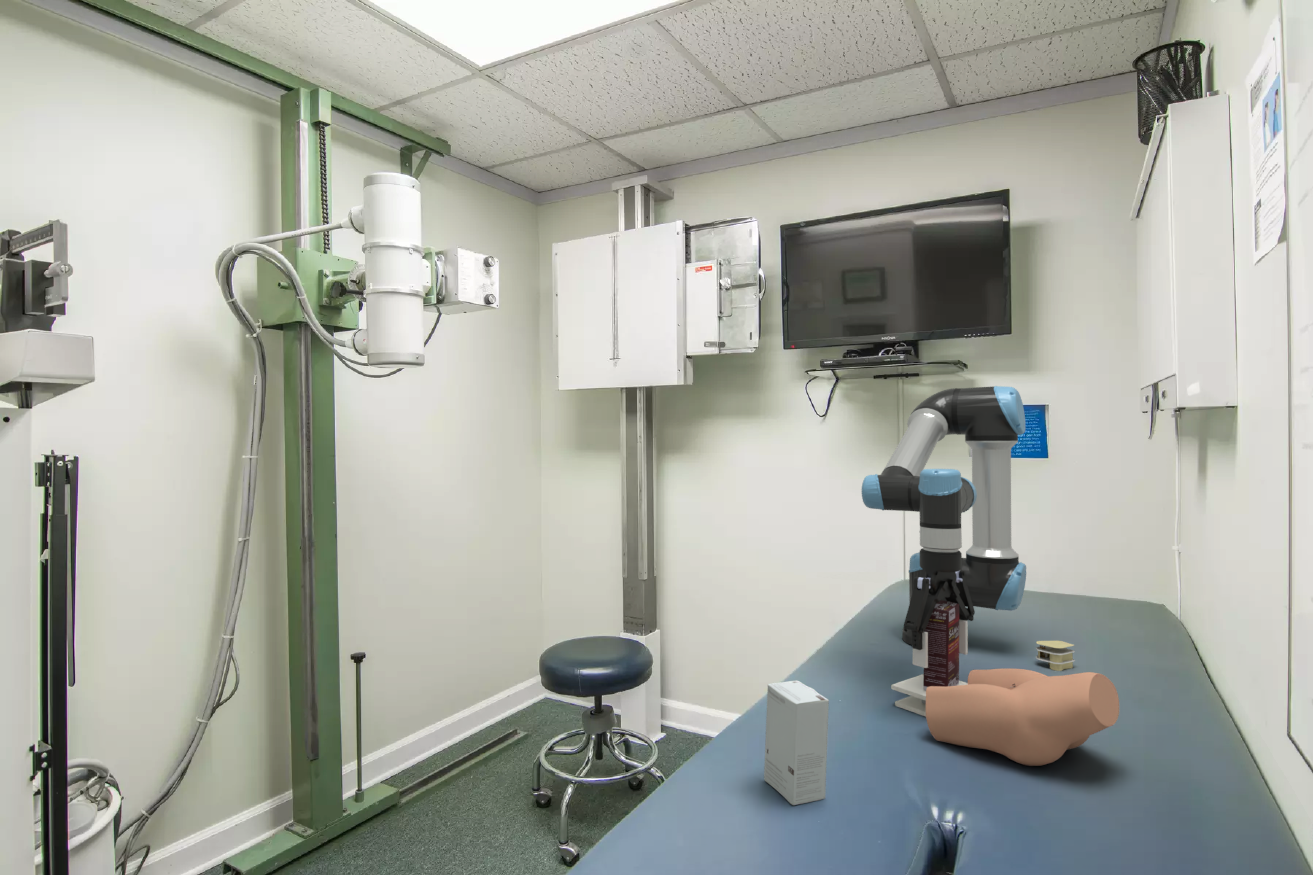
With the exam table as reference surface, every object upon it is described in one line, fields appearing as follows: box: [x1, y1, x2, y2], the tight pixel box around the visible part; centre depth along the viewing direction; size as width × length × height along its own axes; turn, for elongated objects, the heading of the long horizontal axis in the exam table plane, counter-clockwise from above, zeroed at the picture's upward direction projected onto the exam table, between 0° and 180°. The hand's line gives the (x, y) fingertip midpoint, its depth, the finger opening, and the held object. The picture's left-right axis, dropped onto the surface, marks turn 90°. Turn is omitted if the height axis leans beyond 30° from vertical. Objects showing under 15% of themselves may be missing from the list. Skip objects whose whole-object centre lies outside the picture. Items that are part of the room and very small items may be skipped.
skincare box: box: [763, 680, 830, 806], centre depth 102 cm, size 8×6×15 cm
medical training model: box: [925, 668, 1120, 767], centre depth 115 cm, size 21×25×13 cm
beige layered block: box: [1035, 640, 1076, 672], centre depth 158 cm, size 10×9×6 cm
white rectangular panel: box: [890, 673, 968, 718], centre depth 133 cm, size 13×13×4 cm
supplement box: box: [923, 600, 960, 691], centre depth 133 cm, size 9×5×16 cm, turn 143°
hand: (940, 659), depth 133 cm, fingers open, 13 cm apart
